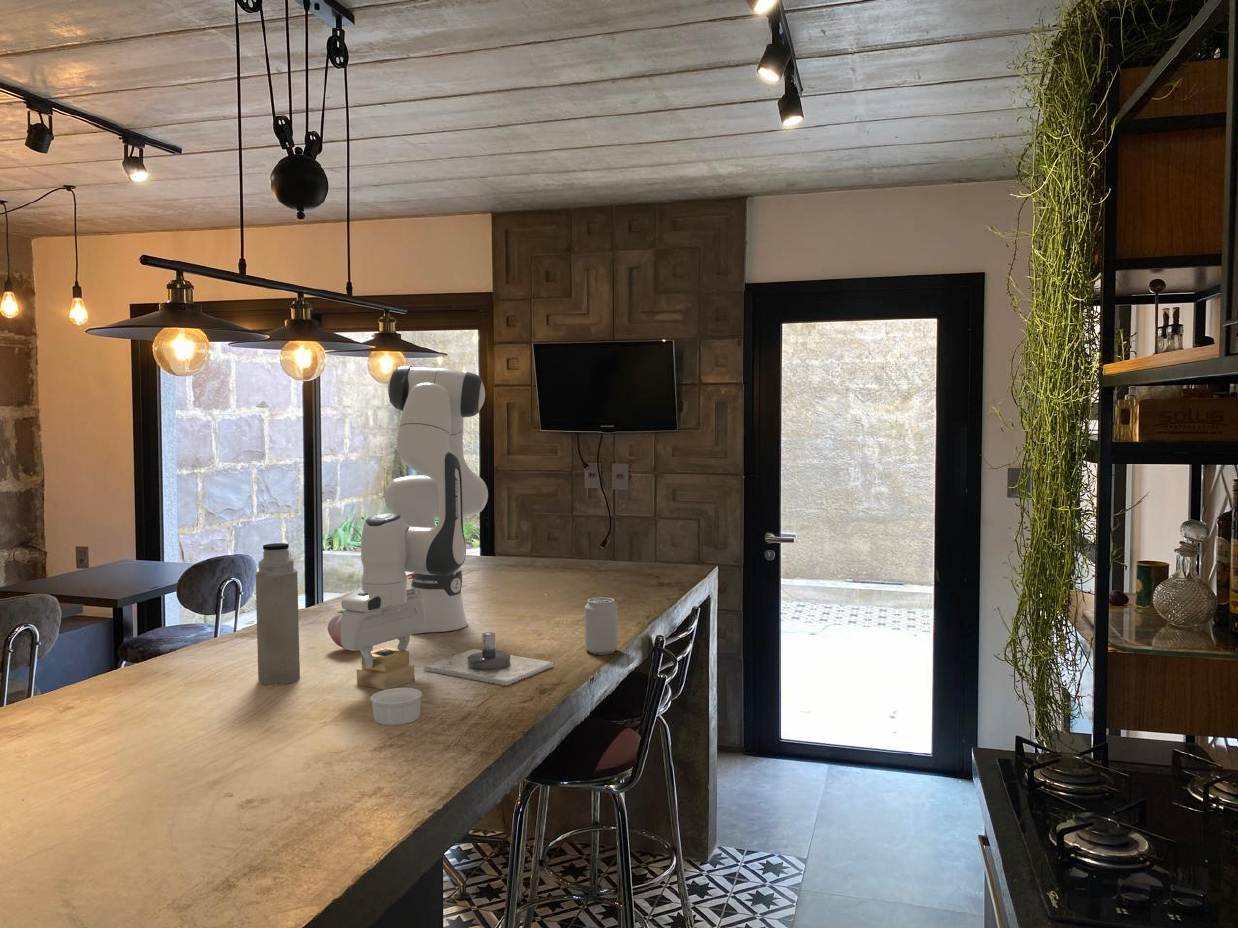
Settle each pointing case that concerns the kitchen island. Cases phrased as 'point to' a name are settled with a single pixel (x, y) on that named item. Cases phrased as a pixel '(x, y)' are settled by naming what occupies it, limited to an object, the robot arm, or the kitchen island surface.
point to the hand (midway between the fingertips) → (385, 662)
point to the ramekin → (396, 706)
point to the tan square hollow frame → (388, 660)
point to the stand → (385, 676)
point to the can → (601, 626)
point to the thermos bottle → (277, 617)
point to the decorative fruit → (336, 628)
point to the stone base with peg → (489, 664)
